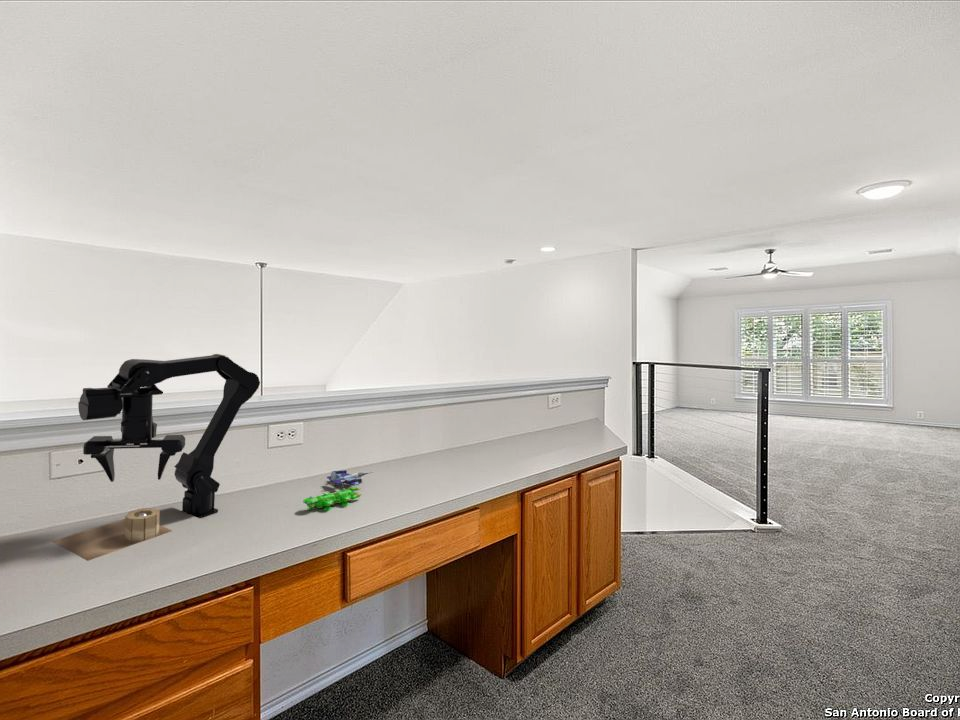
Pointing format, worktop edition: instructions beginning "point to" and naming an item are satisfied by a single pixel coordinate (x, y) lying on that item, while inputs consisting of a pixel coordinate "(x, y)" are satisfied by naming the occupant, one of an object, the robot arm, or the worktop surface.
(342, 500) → the crocodile figurine
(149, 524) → the wooden octagonal holder
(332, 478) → the toy airplane
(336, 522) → the worktop surface
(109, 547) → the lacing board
